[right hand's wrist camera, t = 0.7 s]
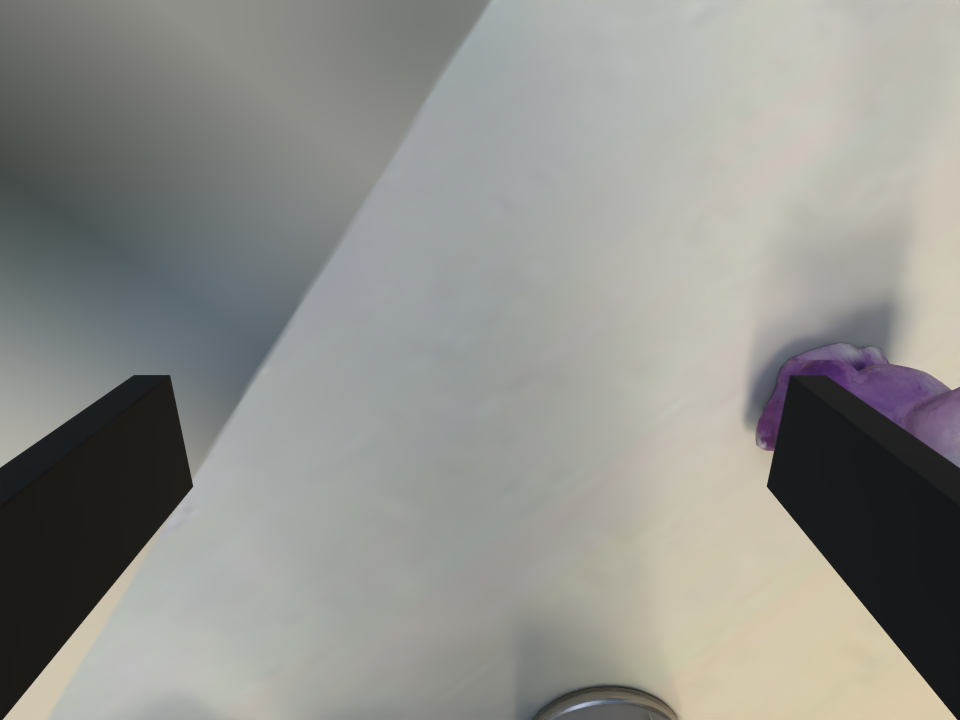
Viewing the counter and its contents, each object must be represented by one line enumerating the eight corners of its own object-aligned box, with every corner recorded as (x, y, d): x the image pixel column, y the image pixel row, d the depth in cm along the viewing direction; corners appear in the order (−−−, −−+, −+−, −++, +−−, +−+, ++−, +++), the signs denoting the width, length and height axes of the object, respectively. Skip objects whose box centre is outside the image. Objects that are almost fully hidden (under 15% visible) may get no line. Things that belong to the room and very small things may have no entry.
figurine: (920, 335, 41) (1151, 440, 27) (855, 459, 44) (1029, 610, 30) (793, 307, 40) (962, 401, 26) (738, 436, 43) (861, 580, 29)
